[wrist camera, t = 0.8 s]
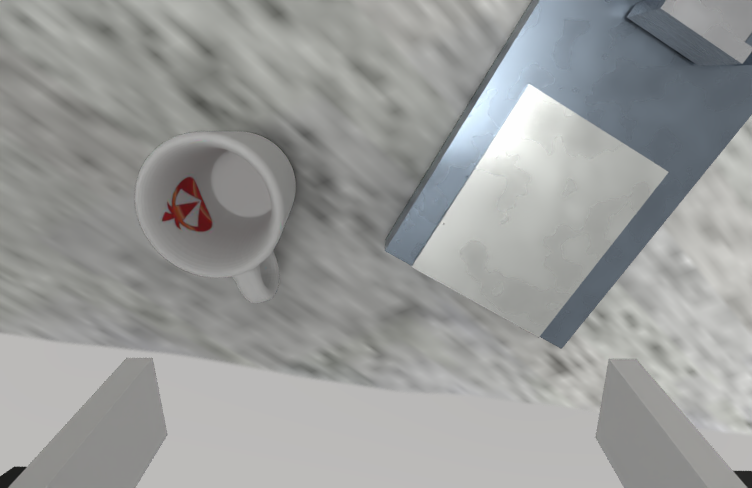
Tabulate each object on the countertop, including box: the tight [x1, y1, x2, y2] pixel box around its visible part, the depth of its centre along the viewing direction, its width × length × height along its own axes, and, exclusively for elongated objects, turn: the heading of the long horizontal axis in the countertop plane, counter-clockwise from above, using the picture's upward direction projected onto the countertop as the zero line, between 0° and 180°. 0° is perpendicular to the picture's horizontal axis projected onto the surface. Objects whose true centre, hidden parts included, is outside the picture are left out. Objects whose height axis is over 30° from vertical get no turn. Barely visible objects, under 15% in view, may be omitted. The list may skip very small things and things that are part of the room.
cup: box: [135, 131, 296, 303], centre depth 30 cm, size 11×8×8 cm
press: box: [385, 0, 752, 349], centre depth 28 cm, size 14×26×6 cm, turn 150°
